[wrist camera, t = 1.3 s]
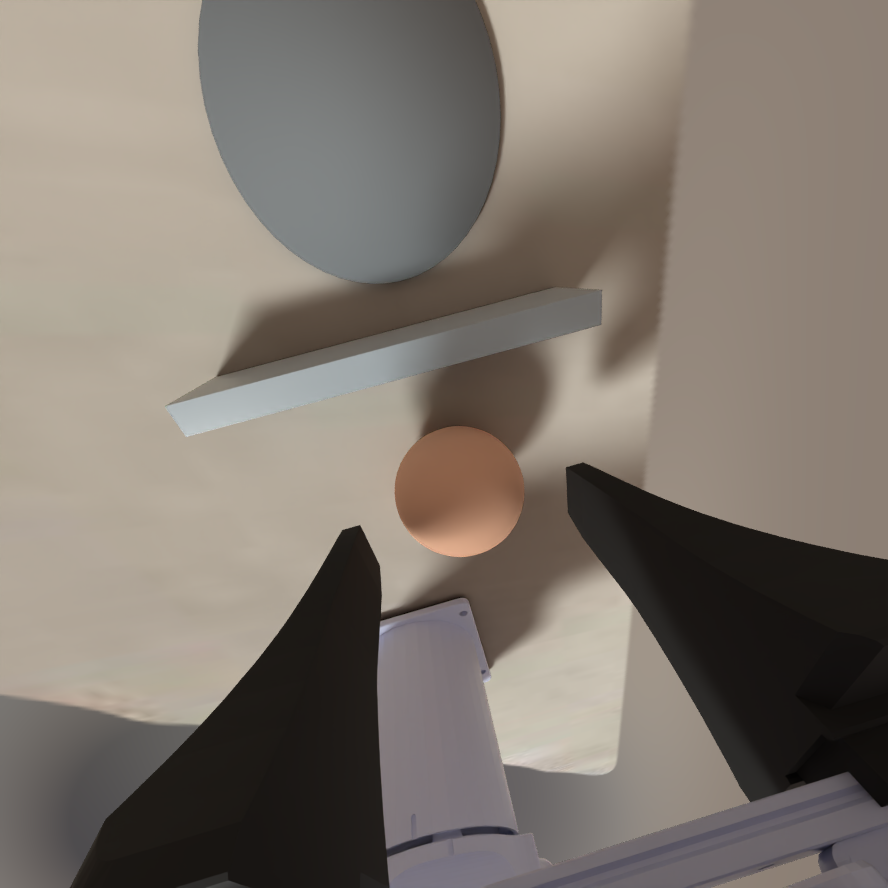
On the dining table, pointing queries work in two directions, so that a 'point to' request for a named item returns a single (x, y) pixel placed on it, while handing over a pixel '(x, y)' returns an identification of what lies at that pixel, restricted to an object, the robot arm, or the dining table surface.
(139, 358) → the dining table surface
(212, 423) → the acrylic wall
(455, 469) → the terracotta ball
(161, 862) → the robot arm
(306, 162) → the pad
